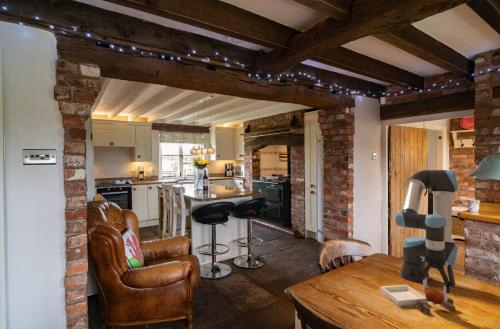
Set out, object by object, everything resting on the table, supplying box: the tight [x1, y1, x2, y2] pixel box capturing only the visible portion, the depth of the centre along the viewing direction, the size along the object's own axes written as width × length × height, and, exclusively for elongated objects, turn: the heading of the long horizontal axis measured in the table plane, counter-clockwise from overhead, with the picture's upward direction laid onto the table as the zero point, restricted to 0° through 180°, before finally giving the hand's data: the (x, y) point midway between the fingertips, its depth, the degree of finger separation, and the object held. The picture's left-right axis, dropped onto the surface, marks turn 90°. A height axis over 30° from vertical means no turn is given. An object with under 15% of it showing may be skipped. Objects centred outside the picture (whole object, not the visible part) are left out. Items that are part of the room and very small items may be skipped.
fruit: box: [424, 286, 444, 307], centre depth 132 cm, size 8×8×8 cm
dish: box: [380, 284, 428, 308], centre depth 143 cm, size 15×15×3 cm
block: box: [415, 297, 456, 315], centre depth 132 cm, size 16×6×4 cm, turn 97°
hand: (435, 295), depth 132 cm, fingers closed on fruit, 8 cm apart
